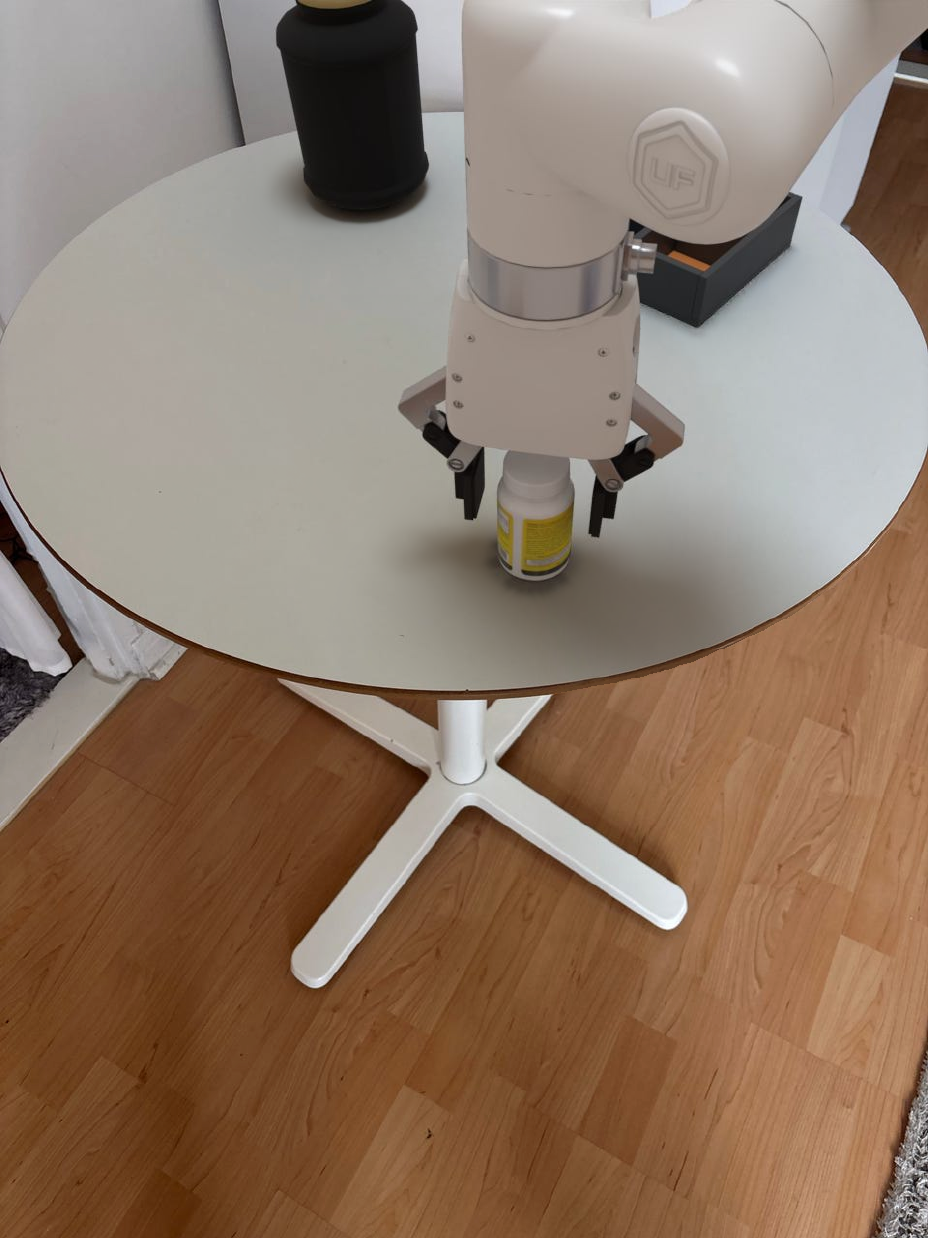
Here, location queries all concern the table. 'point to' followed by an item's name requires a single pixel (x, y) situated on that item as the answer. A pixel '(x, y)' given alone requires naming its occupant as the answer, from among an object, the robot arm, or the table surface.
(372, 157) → the container
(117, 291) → the table surface
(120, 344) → the table surface
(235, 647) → the table surface
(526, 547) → the supplement bottle
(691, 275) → the box
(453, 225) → the table surface
